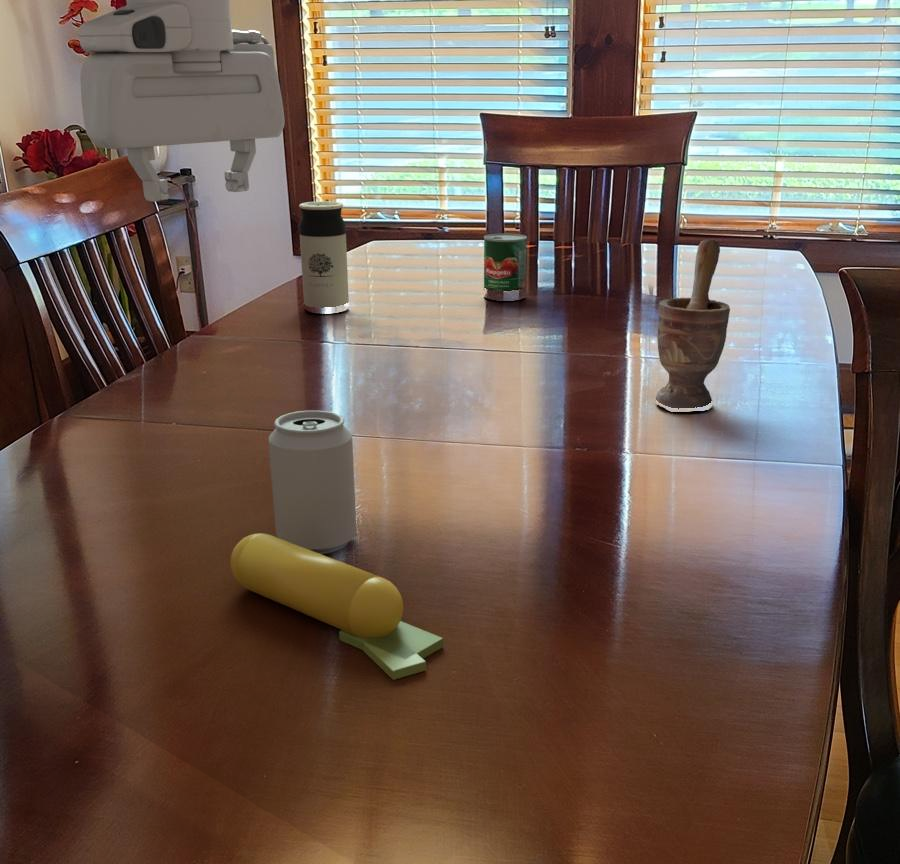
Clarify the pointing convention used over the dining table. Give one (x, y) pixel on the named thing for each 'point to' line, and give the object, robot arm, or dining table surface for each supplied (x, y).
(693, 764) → the dining table surface
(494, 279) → the canned tomato
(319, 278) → the travel mug
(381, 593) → the corn cob
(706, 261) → the mortar and pestle
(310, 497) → the can
